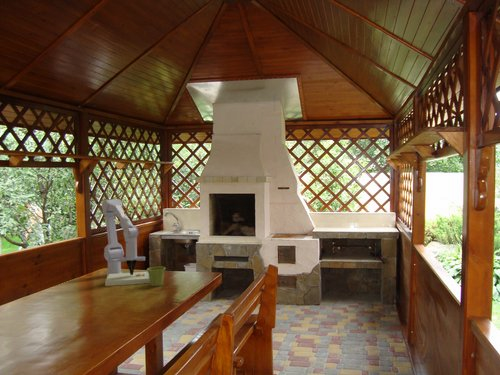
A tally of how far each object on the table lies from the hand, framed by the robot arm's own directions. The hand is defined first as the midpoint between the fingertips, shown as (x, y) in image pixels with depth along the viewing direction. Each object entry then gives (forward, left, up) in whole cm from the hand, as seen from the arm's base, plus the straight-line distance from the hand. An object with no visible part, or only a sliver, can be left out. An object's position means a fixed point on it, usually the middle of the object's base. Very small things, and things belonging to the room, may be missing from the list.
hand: (131, 274), depth 226 cm
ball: (0, +4, -2) cm, 4 cm away
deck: (0, -1, -3) cm, 3 cm away
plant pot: (+14, +13, -4) cm, 20 cm away
